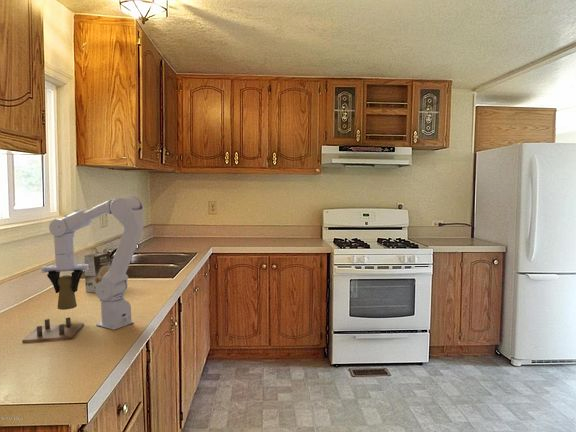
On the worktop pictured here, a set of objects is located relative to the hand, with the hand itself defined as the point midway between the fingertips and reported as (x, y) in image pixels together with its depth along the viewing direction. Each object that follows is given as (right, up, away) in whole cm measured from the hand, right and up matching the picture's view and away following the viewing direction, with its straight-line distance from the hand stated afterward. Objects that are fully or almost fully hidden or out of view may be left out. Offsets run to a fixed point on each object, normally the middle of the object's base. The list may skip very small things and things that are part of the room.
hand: (66, 291), depth 143 cm
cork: (0, -6, +1) cm, 6 cm away
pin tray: (+2, -11, -11) cm, 16 cm away
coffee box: (-8, -7, +41) cm, 43 cm away
